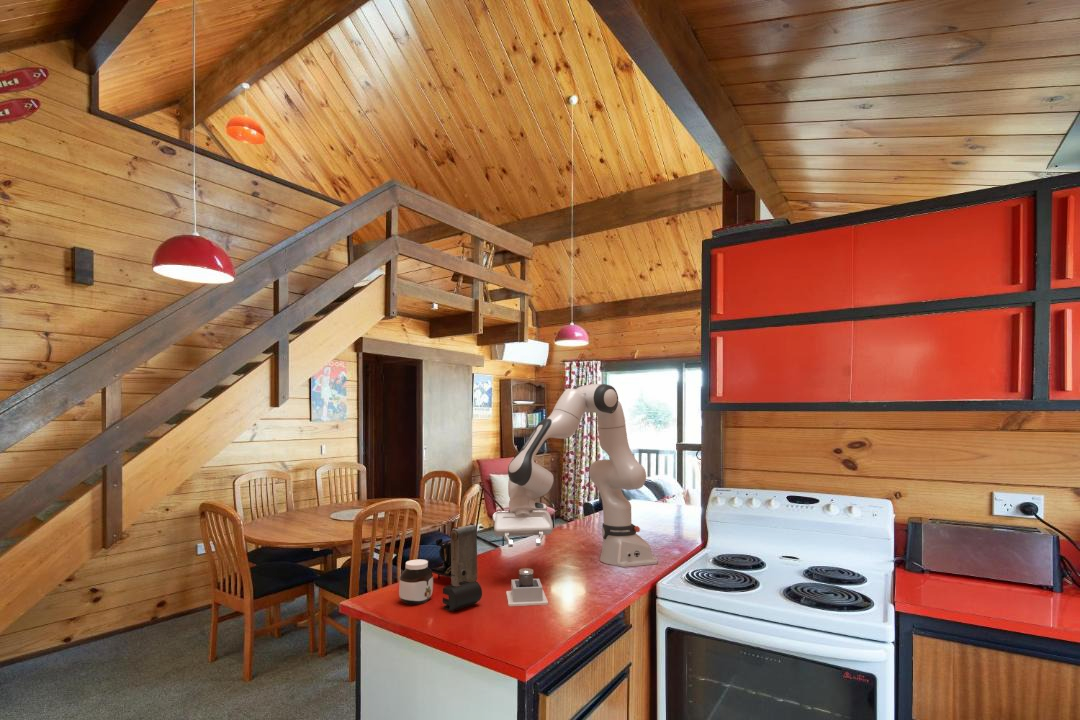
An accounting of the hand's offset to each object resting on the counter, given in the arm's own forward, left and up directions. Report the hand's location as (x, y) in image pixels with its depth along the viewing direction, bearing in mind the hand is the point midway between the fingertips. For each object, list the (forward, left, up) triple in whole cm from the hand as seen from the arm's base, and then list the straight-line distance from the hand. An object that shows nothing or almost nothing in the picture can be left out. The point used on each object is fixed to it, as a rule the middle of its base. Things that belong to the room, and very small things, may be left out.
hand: (524, 545), depth 180 cm
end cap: (+20, +15, -14) cm, 29 cm away
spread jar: (+35, +6, -14) cm, 38 cm away
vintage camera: (+24, -9, -14) cm, 29 cm away
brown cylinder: (0, +10, -13) cm, 16 cm away
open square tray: (0, +10, -14) cm, 17 cm away
